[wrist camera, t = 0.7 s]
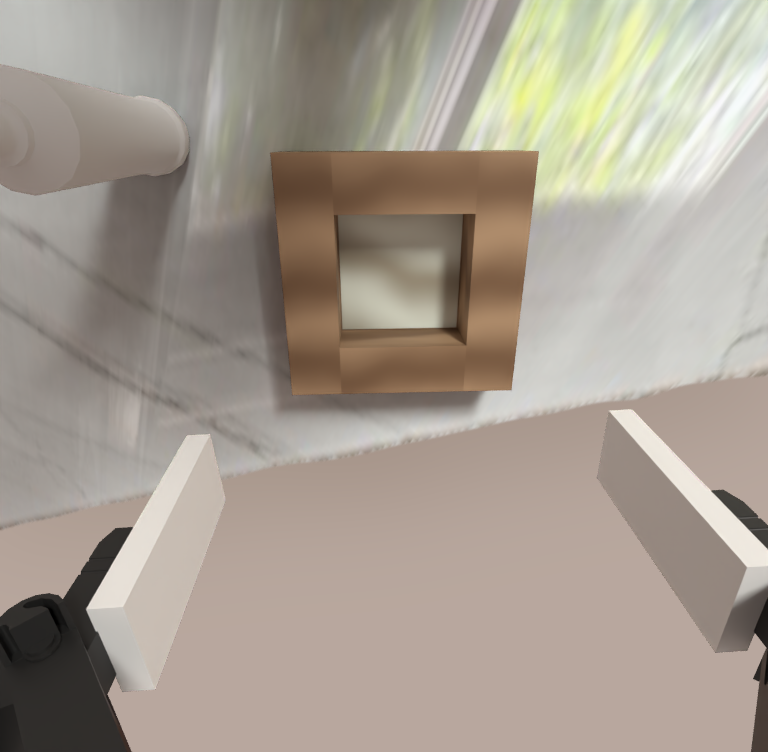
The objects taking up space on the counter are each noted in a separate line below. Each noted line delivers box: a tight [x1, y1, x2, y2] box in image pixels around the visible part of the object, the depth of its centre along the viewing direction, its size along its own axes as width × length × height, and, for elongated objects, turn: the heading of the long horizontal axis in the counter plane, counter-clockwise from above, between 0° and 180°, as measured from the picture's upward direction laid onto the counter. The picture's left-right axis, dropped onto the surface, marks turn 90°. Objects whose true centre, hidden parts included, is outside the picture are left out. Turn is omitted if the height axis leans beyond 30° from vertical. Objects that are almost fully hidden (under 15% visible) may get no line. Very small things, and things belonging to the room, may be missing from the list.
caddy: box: [270, 150, 539, 395], centre depth 40 cm, size 18×18×5 cm
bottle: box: [0, 64, 190, 195], centre depth 26 cm, size 5×5×25 cm
